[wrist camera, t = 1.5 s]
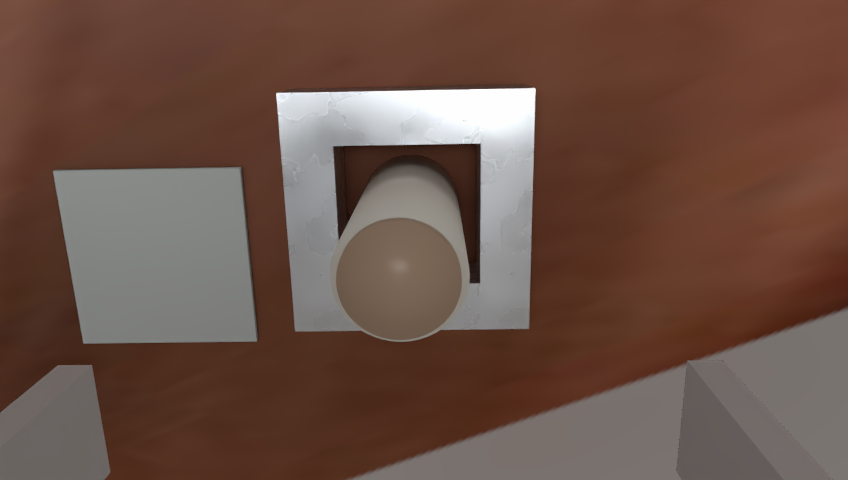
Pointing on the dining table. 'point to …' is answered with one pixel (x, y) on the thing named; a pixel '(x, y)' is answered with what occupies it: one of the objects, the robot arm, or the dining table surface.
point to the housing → (410, 125)
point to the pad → (158, 254)
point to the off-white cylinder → (403, 253)
